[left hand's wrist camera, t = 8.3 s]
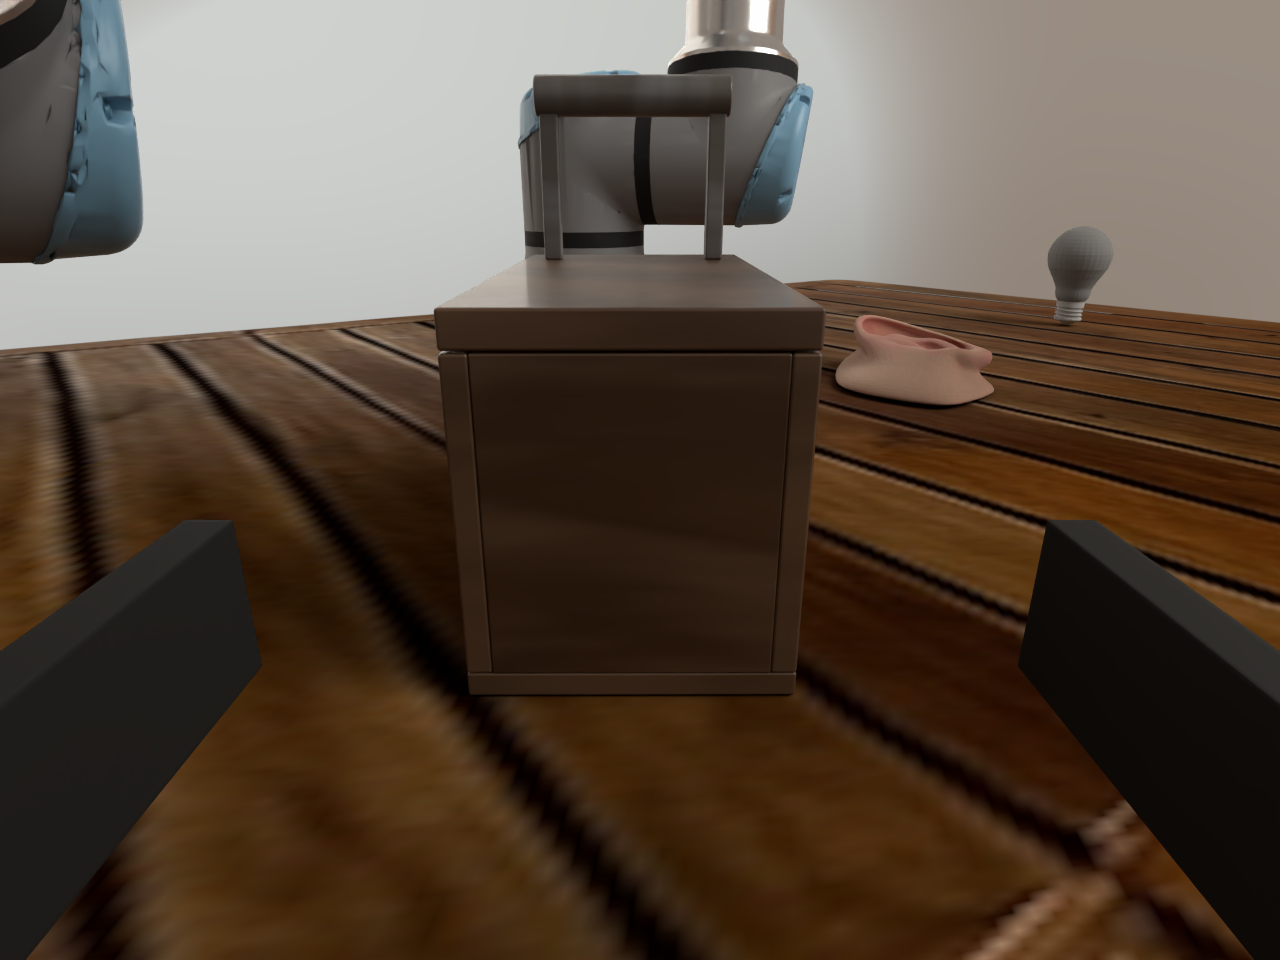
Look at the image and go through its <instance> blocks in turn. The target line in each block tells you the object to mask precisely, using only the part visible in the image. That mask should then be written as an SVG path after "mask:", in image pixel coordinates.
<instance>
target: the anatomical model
mask: <svg viewBox="0 0 1280 960" xmlns="http://www.w3.org/2000/svg"><path fill="white" fill-rule="evenodd" d="M854 334H855V337H856V340H857V342H858V343H859V348H858V349H857V350H856V351H855V352H853V353H852V354H851V355H849V356H848V357H847V358H846V359H845V360H844V361H843V362H842V363H841V364H840V365H839V367H838V368H837V371H836V380H837V383H838V384H839V385H840V386H842V387H844V388H846V389H849V390H852V391H855V392H859V393H863V394H867V395H872V396H877V397H882V398H887V399H893V400H900V401H906V402H913V403H920V404H929V405H957V404H962V403H967V402H970V401H973V400H977V399H980V398H983V397H985V396H987V395H989V394H991V393H992V392H993V391H994V388H993V387H992V385H991V384H990V383H989V382H988V381H986V380H985V379H984V378H983V377H982V376H981V374H980V370H981V369H982V368H984V367H985V366H987V365H988V364H989V363H990V362H991V359H992V353H991V352H990V351H988V350H986V349H983V348H980V347H977V346H974V345H971V344H969V343H966V342H963V341H961V340H958V339H955V338H952V337H950V336H947V335H944V334H941V333H937V332H934V331H930V330H927V329H923V328H920V327H917V326H913V325H910V324H907V323H903V322H900V321H896V320H893V319H889V318H885V317H880V316H874V315H864V316H861V317H859V318H857V320H856V321H855V324H854Z"/></svg>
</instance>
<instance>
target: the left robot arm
mask: <svg viewBox="0 0 1280 960" xmlns="http://www.w3.org/2000/svg"><path fill="white" fill-rule="evenodd" d="M132 108H133V99H132V91H131V76H130V67H129V59H128V51H127V43H126V36H125V29H124V22H123V15H122V8H121V1H120V0H0V263H33V264H46V263H49V262H51V261H53V260H54V259H61V258H73V257H85V256H97V255H109V254H113V253H118V252H121V251H123V250H125V249H127V248H128V247H130V246H131V245H132V244H133V243H134V242H135V241H136V240H137V238H138V237H139V235H140V232H141V230H142V225H143V195H142V181H141V170H140V159H139V149H138V140H137V132H136V124H135V118H134V115H133V109H132ZM261 667H262V663H261V658H260V653H259V648H258V643H257V638H256V633H255V628H254V623H253V618H252V614H251V609H250V604H249V599H248V594H247V589H246V584H245V579H244V574H243V569H242V564H241V560H240V555H239V550H238V545H237V540H236V535H235V530H234V525H233V520H184V521H183V522H182V523H180V524H179V525H177V526H176V527H175V528H173V529H172V530H170V531H169V532H167V533H166V534H165V535H163V536H162V537H160V538H159V539H158V540H156V541H155V542H153V543H152V544H151V545H149V546H148V547H146V548H145V549H144V550H142V551H141V552H139V553H138V554H137V555H135V556H134V557H132V558H131V559H129V560H128V561H127V562H125V563H124V564H122V565H121V566H120V567H118V568H117V569H115V570H114V571H113V572H111V573H110V574H108V575H107V576H106V577H104V578H103V579H101V580H100V581H99V582H97V583H96V584H94V585H93V586H91V587H90V588H89V589H87V590H86V591H84V592H83V593H82V594H80V595H79V596H77V597H76V598H75V599H73V600H72V601H70V602H69V603H68V604H66V605H65V606H63V607H62V608H61V609H59V610H58V611H56V612H55V613H54V614H52V615H51V616H49V617H48V618H46V619H45V620H44V621H42V622H41V623H39V624H38V625H37V626H35V627H34V628H32V629H31V630H30V631H28V632H27V633H25V634H24V635H23V636H21V637H20V638H18V639H17V640H16V641H14V642H13V643H11V644H10V645H8V646H7V647H6V648H4V649H3V650H1V651H0V960H26V959H27V957H28V956H29V955H30V954H31V952H32V951H33V950H34V949H35V947H36V946H37V945H38V944H39V942H40V941H41V940H42V939H43V938H44V936H45V935H46V934H47V933H48V931H49V930H50V929H51V928H52V926H53V925H54V924H55V923H56V921H57V920H58V919H59V918H60V916H61V915H62V914H63V913H64V911H65V910H66V909H67V908H68V906H69V905H70V904H71V903H72V902H73V900H74V899H75V898H76V897H77V895H78V894H79V893H80V892H81V890H82V889H83V888H84V887H85V885H86V884H87V883H88V882H89V880H90V879H91V878H92V877H93V875H94V874H95V873H96V872H97V870H98V869H99V868H100V867H101V865H102V864H103V863H104V862H105V861H106V859H107V858H108V857H109V856H110V854H111V853H112V852H113V851H114V849H115V848H116V847H117V846H118V844H119V843H120V842H121V841H122V839H123V838H124V837H125V836H126V834H127V833H128V832H129V831H130V829H131V828H132V827H133V826H134V824H135V823H136V822H137V821H138V820H139V818H140V817H141V816H142V815H143V813H144V812H145V811H146V810H147V808H148V807H149V806H150V805H151V803H152V802H153V801H154V800H155V798H156V797H157V796H158V795H159V793H160V792H161V791H162V790H163V788H164V787H165V786H166V785H167V784H168V782H169V781H170V780H171V779H172V777H173V776H174V775H175V774H176V772H177V771H178V770H179V769H180V767H181V766H182V765H183V764H184V762H185V761H186V760H187V759H188V757H189V756H190V755H191V754H192V752H193V751H194V750H195V749H196V747H197V746H198V745H199V744H200V743H201V741H202V740H203V739H204V738H205V736H206V735H207V734H208V733H209V731H210V730H211V729H212V728H213V726H214V725H215V724H216V723H217V721H218V720H219V719H220V718H221V716H222V715H223V714H224V713H225V711H226V710H227V709H228V708H229V707H230V705H231V704H232V703H233V702H234V700H235V699H236V698H237V697H238V695H239V694H240V693H241V692H242V690H243V689H244V688H245V687H246V685H247V684H248V683H249V682H250V680H251V679H252V678H253V677H254V675H255V674H256V673H257V672H258V670H259V669H260V668H261ZM1018 667H1019V668H1020V669H1021V670H1022V672H1023V673H1024V674H1025V675H1026V677H1027V678H1028V679H1029V680H1030V682H1031V683H1032V684H1033V685H1034V687H1035V688H1036V689H1037V690H1038V692H1039V693H1040V694H1041V695H1042V697H1043V698H1044V699H1045V700H1046V702H1047V703H1048V704H1049V705H1050V707H1051V708H1052V709H1053V710H1054V711H1055V713H1056V714H1057V715H1058V716H1059V718H1060V719H1061V720H1062V721H1063V723H1064V724H1065V725H1066V726H1067V728H1068V729H1069V730H1070V731H1071V733H1072V734H1073V735H1074V736H1075V738H1076V739H1077V740H1078V741H1079V743H1080V744H1081V745H1082V746H1083V747H1084V749H1085V750H1086V751H1087V752H1088V754H1089V755H1090V756H1091V757H1092V759H1093V760H1094V761H1095V762H1096V764H1097V765H1098V766H1099V767H1100V769H1101V770H1102V771H1103V772H1104V774H1105V775H1106V776H1107V777H1108V779H1109V780H1110V781H1111V782H1112V784H1113V785H1114V786H1115V787H1116V788H1117V790H1118V791H1119V792H1120V793H1121V795H1122V796H1123V797H1124V798H1125V800H1126V801H1127V802H1128V803H1129V805H1130V806H1131V807H1132V808H1133V810H1134V811H1135V812H1136V813H1137V815H1138V816H1139V817H1140V818H1141V820H1142V821H1143V822H1144V823H1145V824H1146V826H1147V827H1148V828H1149V829H1150V831H1151V832H1152V833H1153V834H1154V836H1155V837H1156V838H1157V839H1158V841H1159V842H1160V843H1161V844H1162V846H1163V847H1164V848H1165V849H1166V851H1167V852H1168V853H1169V854H1170V856H1171V857H1172V858H1173V859H1174V861H1175V862H1176V863H1177V864H1178V865H1179V867H1180V868H1181V869H1182V870H1183V872H1184V873H1185V874H1186V875H1187V877H1188V878H1189V879H1190V880H1191V882H1192V883H1193V884H1194V885H1195V887H1196V888H1197V889H1198V890H1199V892H1200V893H1201V894H1202V895H1203V897H1204V898H1205V899H1206V900H1207V902H1208V903H1209V904H1210V905H1211V906H1212V908H1213V909H1214V910H1215V911H1216V913H1217V914H1218V915H1219V916H1220V918H1221V919H1222V920H1223V921H1224V923H1225V924H1226V925H1227V926H1228V928H1229V929H1230V930H1231V931H1232V933H1233V934H1234V935H1235V936H1236V938H1237V939H1238V940H1239V941H1240V942H1241V944H1242V945H1243V946H1244V947H1245V949H1246V950H1247V951H1248V952H1249V954H1250V955H1251V956H1252V957H1253V959H1254V960H1280V651H1279V650H1277V649H1276V648H1274V647H1273V646H1272V645H1270V644H1269V643H1267V642H1266V641H1264V640H1263V639H1262V638H1260V637H1259V636H1257V635H1256V634H1255V633H1253V632H1252V631H1250V630H1249V629H1248V628H1246V627H1245V626H1243V625H1242V624H1241V623H1239V622H1238V621H1236V620H1235V619H1234V618H1232V617H1231V616H1229V615H1228V614H1226V613H1225V612H1224V611H1222V610H1221V609H1219V608H1218V607H1217V606H1215V605H1214V604H1212V603H1211V602H1210V601H1208V600H1207V599H1205V598H1204V597H1203V596H1201V595H1200V594H1198V593H1197V592H1196V591H1194V590H1193V589H1191V588H1190V587H1189V586H1187V585H1186V584H1184V583H1183V582H1181V581H1180V580H1179V579H1177V578H1176V577H1174V576H1173V575H1172V574H1170V573H1169V572H1167V571H1166V570H1165V569H1163V568H1162V567H1160V566H1159V565H1158V564H1156V563H1155V562H1153V561H1152V560H1151V559H1149V558H1148V557H1146V556H1145V555H1143V554H1142V553H1141V552H1139V551H1138V550H1136V549H1135V548H1134V547H1132V546H1131V545H1129V544H1128V543H1127V542H1125V541H1124V540H1122V539H1121V538H1120V537H1118V536H1117V535H1115V534H1114V533H1113V532H1111V531H1110V530H1108V529H1107V528H1105V527H1104V526H1103V525H1101V524H1100V523H1098V522H1097V521H1096V520H1047V525H1046V530H1045V535H1044V540H1043V545H1042V550H1041V555H1040V560H1039V564H1038V569H1037V574H1036V579H1035V584H1034V589H1033V594H1032V599H1031V604H1030V609H1029V614H1028V618H1027V623H1026V628H1025V633H1024V638H1023V643H1022V648H1021V653H1020V658H1019V663H1018Z"/></svg>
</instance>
